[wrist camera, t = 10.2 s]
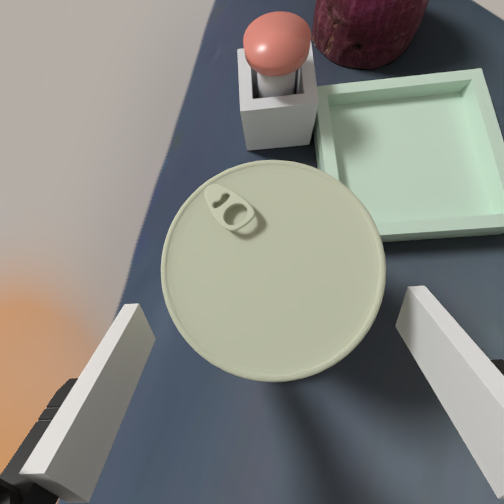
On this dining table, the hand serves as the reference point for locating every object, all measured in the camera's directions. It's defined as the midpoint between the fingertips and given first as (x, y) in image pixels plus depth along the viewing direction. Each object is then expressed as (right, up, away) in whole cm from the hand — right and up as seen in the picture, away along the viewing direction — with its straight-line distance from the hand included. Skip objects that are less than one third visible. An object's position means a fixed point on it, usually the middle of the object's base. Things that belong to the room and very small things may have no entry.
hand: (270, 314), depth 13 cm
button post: (+1, +16, +12) cm, 20 cm away
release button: (+1, +16, +10) cm, 19 cm away
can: (+1, 0, +9) cm, 9 cm away
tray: (+12, +11, +10) cm, 19 cm away
